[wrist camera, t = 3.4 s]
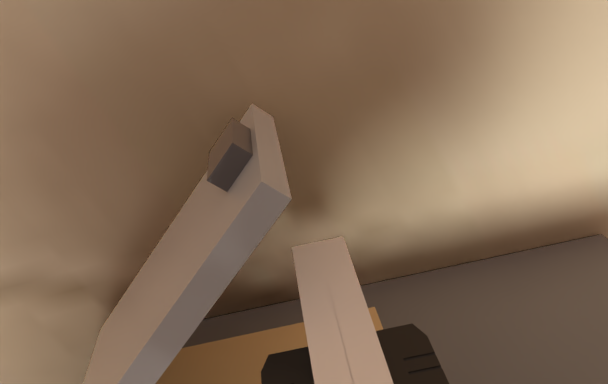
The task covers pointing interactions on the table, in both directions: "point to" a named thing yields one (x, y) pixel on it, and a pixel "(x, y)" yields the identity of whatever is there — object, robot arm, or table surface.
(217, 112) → the table surface
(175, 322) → the side door
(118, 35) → the table surface
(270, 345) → the camera box
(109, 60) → the table surface
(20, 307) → the table surface
